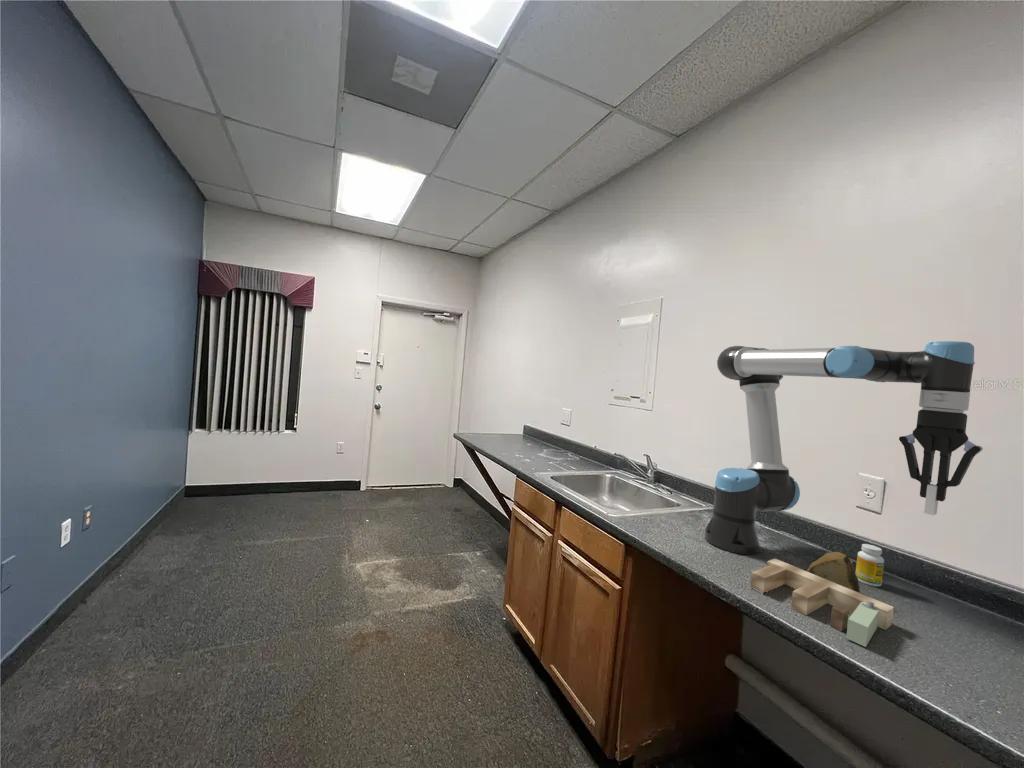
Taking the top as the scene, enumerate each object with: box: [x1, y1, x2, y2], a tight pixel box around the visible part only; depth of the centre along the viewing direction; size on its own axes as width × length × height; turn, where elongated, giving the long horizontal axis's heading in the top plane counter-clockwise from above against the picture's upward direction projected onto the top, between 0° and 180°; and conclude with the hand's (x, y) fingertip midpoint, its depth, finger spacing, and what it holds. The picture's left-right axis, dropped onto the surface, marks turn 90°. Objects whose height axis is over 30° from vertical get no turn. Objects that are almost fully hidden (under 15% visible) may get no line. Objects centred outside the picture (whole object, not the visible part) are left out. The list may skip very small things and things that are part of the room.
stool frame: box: [749, 557, 895, 632], centre depth 93 cm, size 24×15×4 cm, turn 32°
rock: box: [806, 551, 862, 594], centre depth 103 cm, size 11×9×10 cm
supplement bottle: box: [855, 543, 885, 587], centre depth 106 cm, size 5×5×10 cm
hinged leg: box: [845, 601, 879, 648], centre depth 82 cm, size 12×3×5 cm, turn 128°
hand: (930, 513), depth 89 cm, fingers closed
